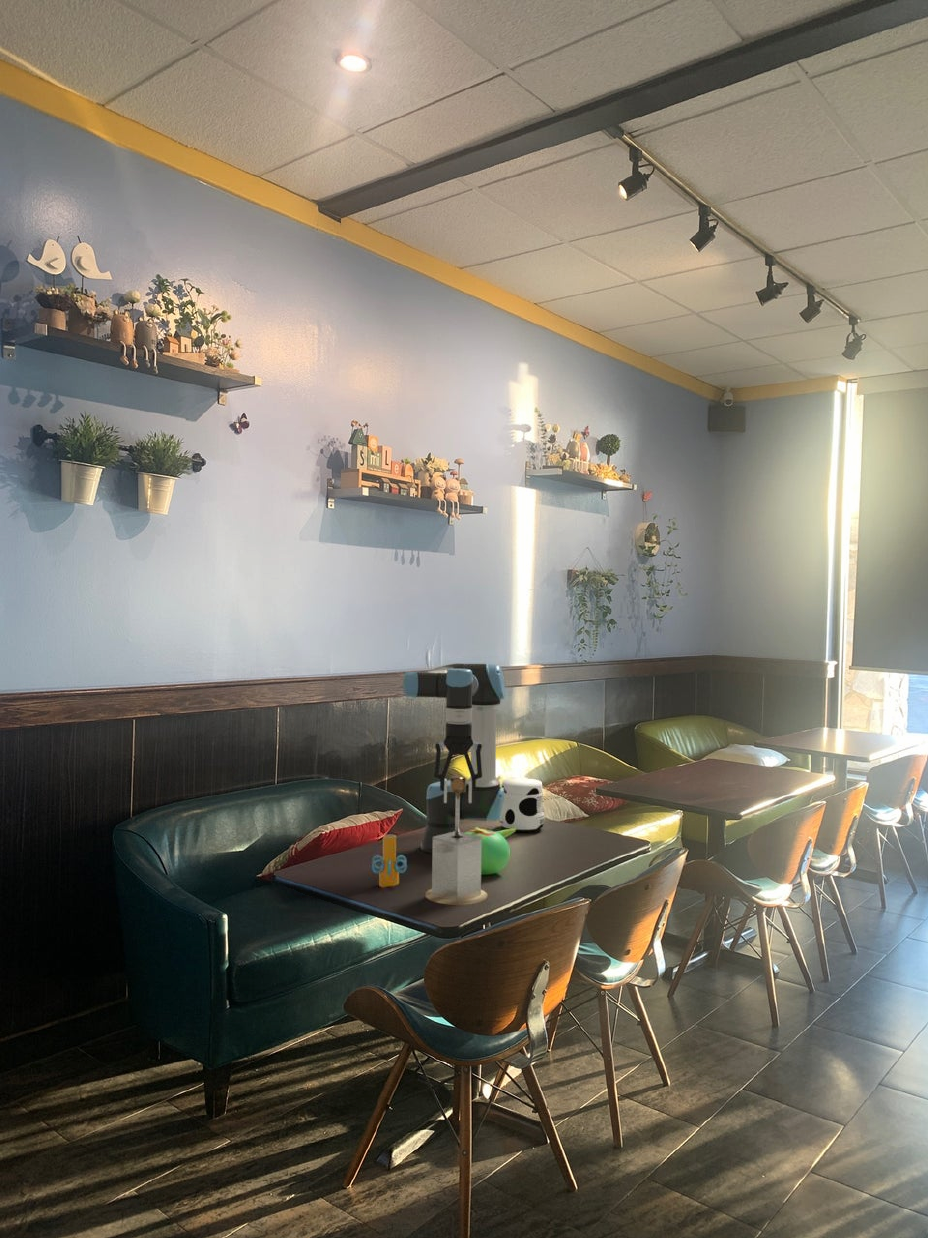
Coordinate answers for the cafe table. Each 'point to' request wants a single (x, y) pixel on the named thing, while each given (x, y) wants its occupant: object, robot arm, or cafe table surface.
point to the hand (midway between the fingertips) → (457, 802)
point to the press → (456, 866)
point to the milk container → (522, 805)
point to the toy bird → (493, 849)
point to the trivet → (464, 902)
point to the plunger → (457, 797)
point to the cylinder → (389, 863)
